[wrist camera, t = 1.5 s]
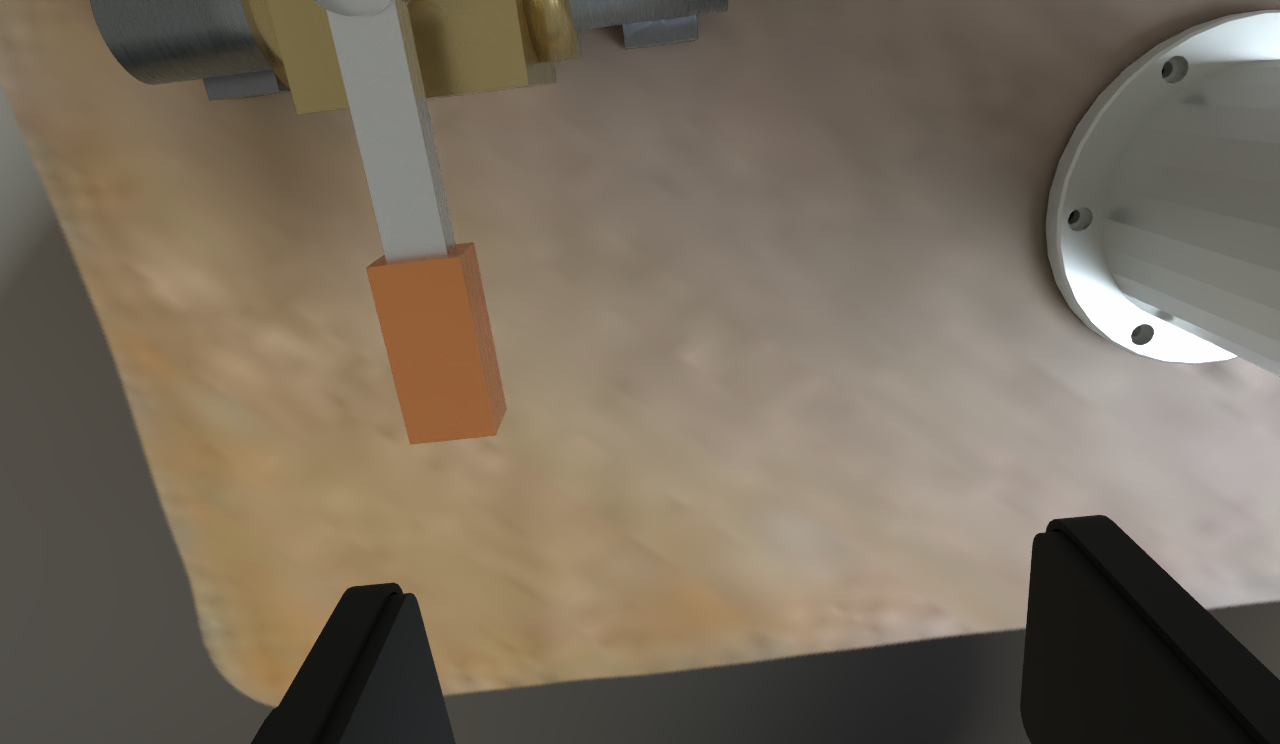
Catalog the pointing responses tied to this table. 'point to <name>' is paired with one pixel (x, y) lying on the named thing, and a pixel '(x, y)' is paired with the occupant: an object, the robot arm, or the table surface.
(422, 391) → the valve handle
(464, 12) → the pipe valve
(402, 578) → the table surface
